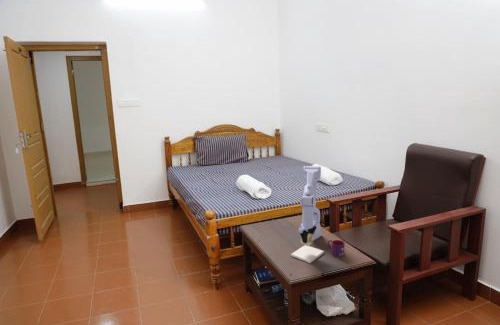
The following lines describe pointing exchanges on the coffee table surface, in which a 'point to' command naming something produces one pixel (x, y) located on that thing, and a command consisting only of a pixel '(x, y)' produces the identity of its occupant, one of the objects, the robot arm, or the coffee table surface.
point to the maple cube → (309, 240)
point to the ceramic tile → (307, 253)
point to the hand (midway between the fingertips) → (307, 240)
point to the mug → (337, 248)
